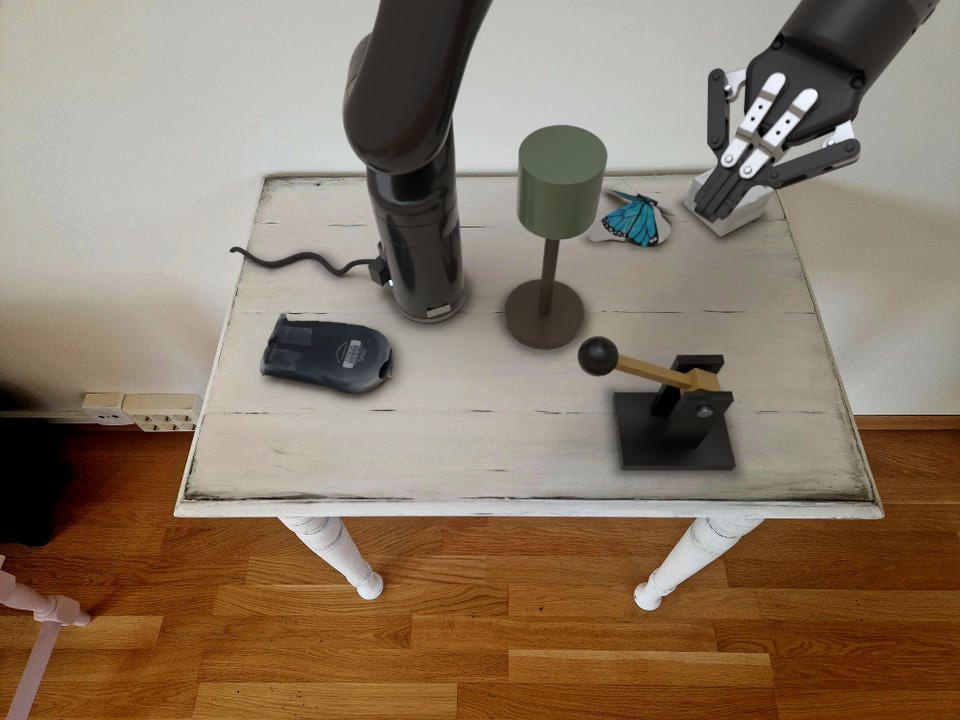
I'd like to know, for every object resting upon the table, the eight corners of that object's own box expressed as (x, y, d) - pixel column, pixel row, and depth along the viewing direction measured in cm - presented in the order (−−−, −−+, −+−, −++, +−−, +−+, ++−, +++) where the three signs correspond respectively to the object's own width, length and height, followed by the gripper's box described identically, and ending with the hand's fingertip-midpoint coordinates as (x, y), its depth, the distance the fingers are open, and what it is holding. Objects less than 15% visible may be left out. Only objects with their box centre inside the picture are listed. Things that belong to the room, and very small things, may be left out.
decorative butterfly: (674, 239, 74) (604, 207, 74) (650, 267, 80) (585, 238, 80) (688, 187, 79) (622, 158, 79) (665, 218, 85) (603, 190, 84)
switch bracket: (621, 469, 63) (647, 420, 52) (612, 396, 67) (634, 337, 56) (731, 470, 62) (782, 420, 51) (715, 396, 67) (758, 336, 56)
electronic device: (269, 394, 70) (383, 401, 67) (248, 366, 66) (369, 372, 63) (297, 337, 76) (403, 341, 73) (280, 308, 72) (392, 311, 68)
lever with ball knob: (571, 378, 51) (595, 359, 48) (568, 343, 52) (591, 324, 50) (699, 412, 56) (728, 398, 53) (693, 380, 58) (720, 365, 55)
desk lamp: (489, 323, 73) (485, 161, 51) (533, 274, 77) (548, 104, 55) (554, 363, 70) (579, 208, 48) (597, 310, 74) (639, 144, 52)
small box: (722, 184, 85) (735, 156, 80) (761, 217, 81) (776, 189, 77) (682, 204, 83) (692, 176, 78) (719, 239, 79) (732, 211, 75)
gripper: (779, -66, 39) (624, 165, 45) (977, 11, 33) (768, 259, 40) (789, -10, 45) (652, 185, 51) (957, 61, 40) (780, 268, 46)
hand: (703, 217), depth 46 cm, fingers closed
